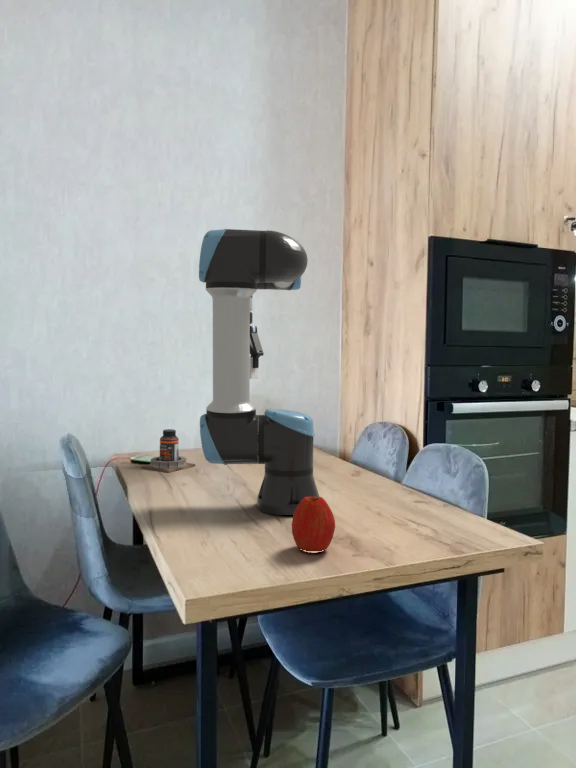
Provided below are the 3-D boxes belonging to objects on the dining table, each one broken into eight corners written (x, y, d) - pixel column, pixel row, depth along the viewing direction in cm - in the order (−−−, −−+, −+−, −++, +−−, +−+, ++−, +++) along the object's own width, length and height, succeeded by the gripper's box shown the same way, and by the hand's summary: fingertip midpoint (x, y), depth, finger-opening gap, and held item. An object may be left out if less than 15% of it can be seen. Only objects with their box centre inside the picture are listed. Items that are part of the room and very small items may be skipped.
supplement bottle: (156, 466, 171) (156, 431, 171) (163, 462, 177) (163, 428, 177) (175, 467, 171) (175, 431, 170) (181, 463, 177) (181, 428, 176)
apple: (332, 542, 107) (333, 488, 106) (337, 558, 98) (338, 499, 98) (290, 542, 106) (291, 488, 106) (292, 558, 98) (293, 499, 98)
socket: (168, 472, 166) (168, 464, 166) (141, 467, 172) (141, 459, 172) (195, 466, 176) (195, 458, 176) (168, 461, 182) (168, 454, 182)
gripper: (275, 310, 166) (274, 379, 168) (227, 313, 185) (227, 376, 186) (256, 308, 161) (255, 379, 163) (208, 312, 180) (208, 376, 181)
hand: (240, 378), depth 174 cm, fingers open, 13 cm apart
